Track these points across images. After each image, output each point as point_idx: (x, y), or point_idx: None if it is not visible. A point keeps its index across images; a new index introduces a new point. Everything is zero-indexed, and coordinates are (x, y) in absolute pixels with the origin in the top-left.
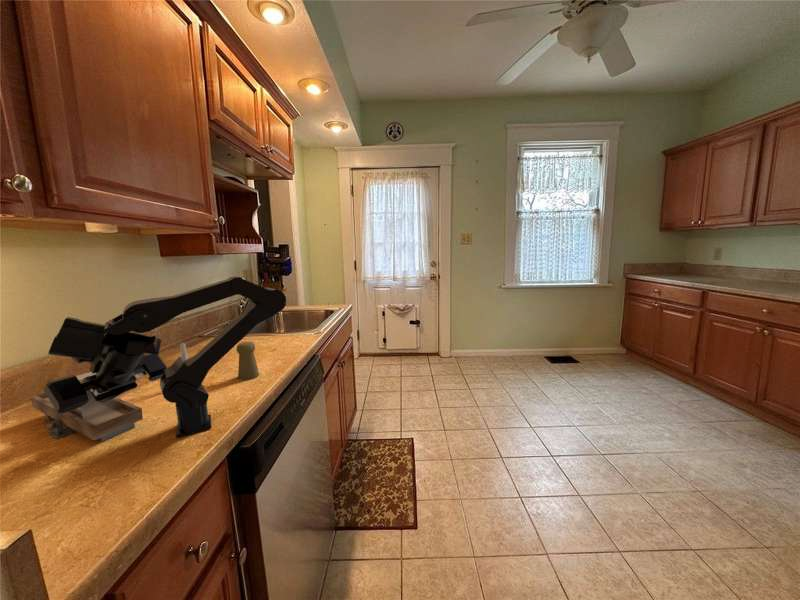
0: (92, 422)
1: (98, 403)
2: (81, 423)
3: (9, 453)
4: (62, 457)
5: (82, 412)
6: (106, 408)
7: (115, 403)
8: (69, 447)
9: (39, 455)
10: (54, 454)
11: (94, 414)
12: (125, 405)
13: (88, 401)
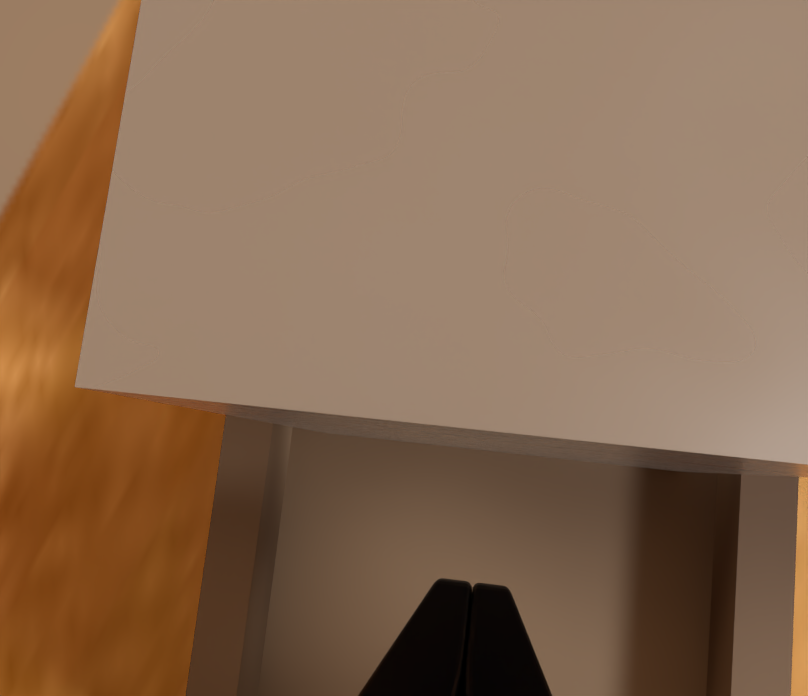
0: (340, 575)
1: (491, 447)
2: (203, 607)
3: (44, 161)
4: (61, 675)
5: (304, 428)
6: (571, 459)
7: (691, 471)
8: (184, 542)
9: (56, 427)
10: (84, 540)
11: (436, 444)
12: (728, 650)
13: (359, 431)
